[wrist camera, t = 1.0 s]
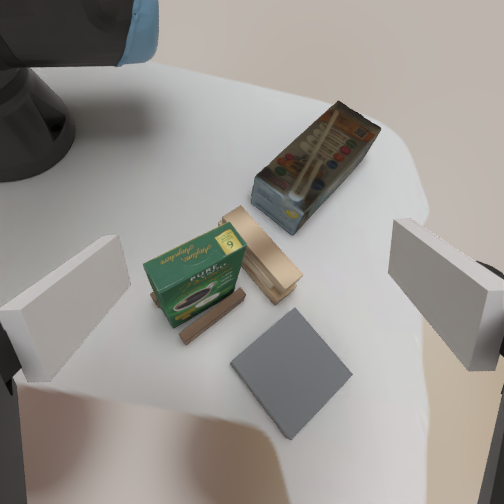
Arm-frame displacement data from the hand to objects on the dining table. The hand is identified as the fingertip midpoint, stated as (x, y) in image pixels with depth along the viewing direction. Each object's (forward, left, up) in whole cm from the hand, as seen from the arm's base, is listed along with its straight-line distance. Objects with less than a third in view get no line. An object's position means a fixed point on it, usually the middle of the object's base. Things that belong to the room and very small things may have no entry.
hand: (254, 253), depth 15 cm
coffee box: (-5, 0, -22) cm, 22 cm away
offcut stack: (-4, +8, -21) cm, 23 cm away
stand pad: (+7, +3, -21) cm, 23 cm away
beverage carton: (-10, +23, -22) cm, 33 cm away
